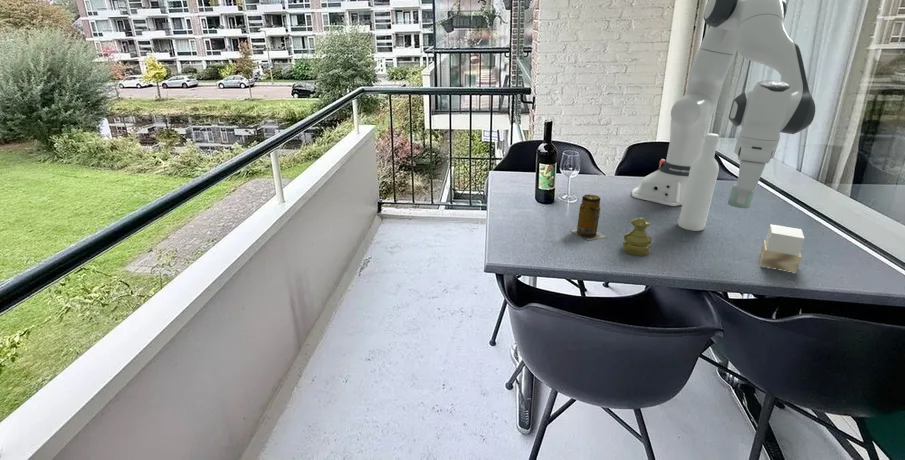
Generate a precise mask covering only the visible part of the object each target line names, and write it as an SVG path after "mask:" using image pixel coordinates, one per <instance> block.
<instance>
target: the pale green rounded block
mask: <svg viewBox="0 0 905 460" xmlns="http://www.w3.org/2000/svg"><path fill="white" fill-rule="evenodd" d="M755 192H756V189H755V190H754V191H753V192H752V193H749V192H748V195H747V197H746V199H745V202H744V203H743V204H740V203H737V197H738V193H739V191H738V190H737V183H735V184H732V186H731V190H730V193H729V198H728V200H727V205H729V206H731V207H734V208H738V209H749V208H751V204H752V200H753V198H754V196H755Z"/></svg>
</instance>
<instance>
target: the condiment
mask: <svg viewBox="0 0 905 460" xmlns="http://www.w3.org/2000/svg"><path fill="white" fill-rule="evenodd" d="M600 204H601V197H600V196H599V195H596V194H584V195H583V196H582V200H581V203H580V205H579V211H578V219H577V226H576V227H577V228H576V229H571V230H569V231H570V232H572V233H573V234H575V235H577V236H579V237H581V238H583V239H585V240H587V241H592V240H594V241H595V240H598V239H604V238H607V236H606V235H604V234H603V233H601V232H599V231H598V227H599V219H600V214H601V205H600Z"/></svg>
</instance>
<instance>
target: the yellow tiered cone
mask: <svg viewBox="0 0 905 460" xmlns="http://www.w3.org/2000/svg"><path fill="white" fill-rule="evenodd" d="M630 223H631V225H633V227H634V228H633V229H631V230H630V231H627V232H626V233H624V235H623V241H622V246H621V249H622V251H623V252H624V253H626V254H629V255H631V256H636V257H639V256H640V257H643V256H647V255H649V253H650V250H651V244H652V241H653V239H652V237H651V236H650V235H649V234H648V233H647V232H646V231H645V230H646V228H649V226H650V225H651V222H650V221H649V220H647V219H645V218H644V217H637V218H634V219H632V220H631V221H630Z"/></svg>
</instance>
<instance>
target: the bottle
mask: <svg viewBox="0 0 905 460" xmlns="http://www.w3.org/2000/svg"><path fill="white" fill-rule="evenodd" d="M719 138H720V135H719V134H718V133H710V132H709V133H706V134H704V144H703V148H702V153H701V156H700V157H699V158H697V159H696V160H695V161H694V162H693V164H692V165H691V167H690V172H689V176H688V181H687V186H686V190H685V195H684V199H683V204H682V205H681V208H680V213H679V217H678V222H677V224H678V225H677V226H678V227H680V228H682V229H684V230H687V231H693V232H700V231H703V230H704V229H705V228H706V225H707V219H708V215H709V213H710V212H709V211H710V207H711V203H712V199H713V195H714V192H715V191H714V190H715V187H716V182H717V179H718V176H719V171H720V170H719V163H718V161H717V160H716V159H715V154H716V152H717V151H716V150H717V147H718V142H719V140H720V139H719Z"/></svg>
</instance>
